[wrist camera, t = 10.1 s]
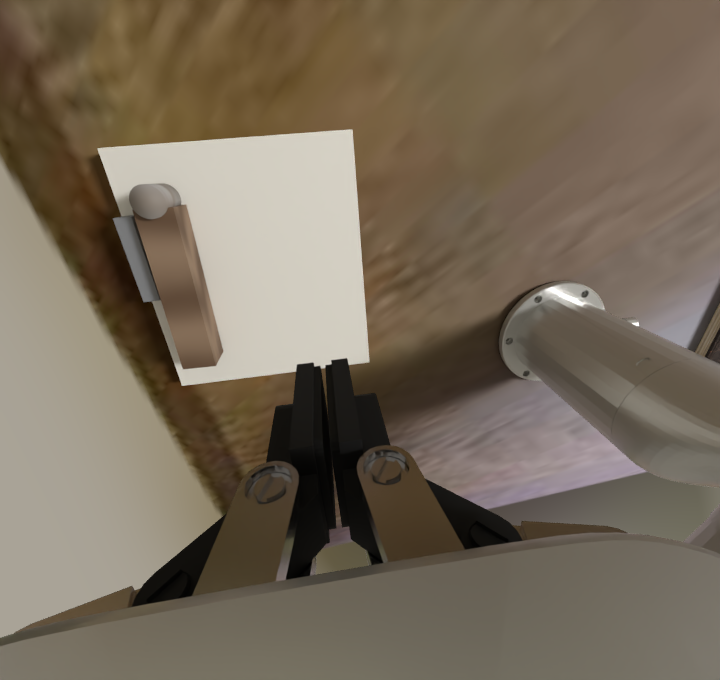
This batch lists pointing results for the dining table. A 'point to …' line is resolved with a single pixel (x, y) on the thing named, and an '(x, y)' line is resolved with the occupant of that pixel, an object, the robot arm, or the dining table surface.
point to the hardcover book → (711, 339)
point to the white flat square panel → (260, 245)
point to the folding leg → (177, 273)
